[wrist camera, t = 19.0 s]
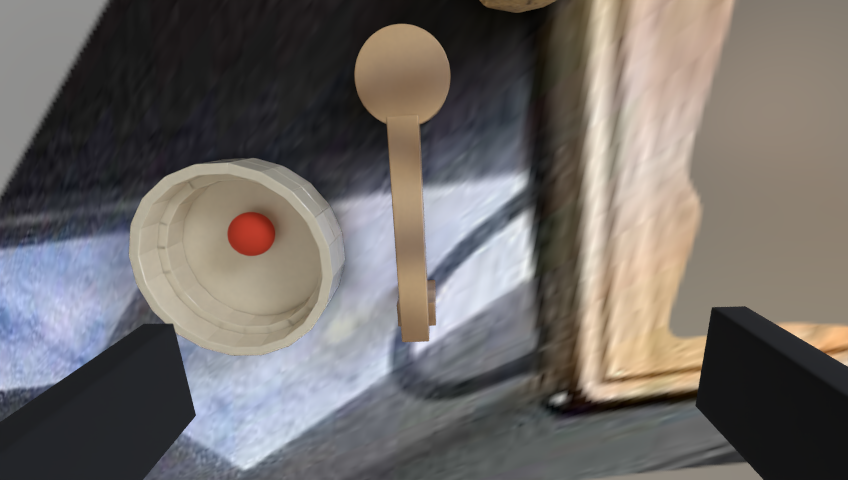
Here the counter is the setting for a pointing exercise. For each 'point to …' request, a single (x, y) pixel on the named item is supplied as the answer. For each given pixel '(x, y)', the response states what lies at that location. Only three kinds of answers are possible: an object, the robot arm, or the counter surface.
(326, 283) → the bowl
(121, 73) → the counter surface
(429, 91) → the ladle
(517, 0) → the potato
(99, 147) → the counter surface
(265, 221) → the tomato
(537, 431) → the counter surface
